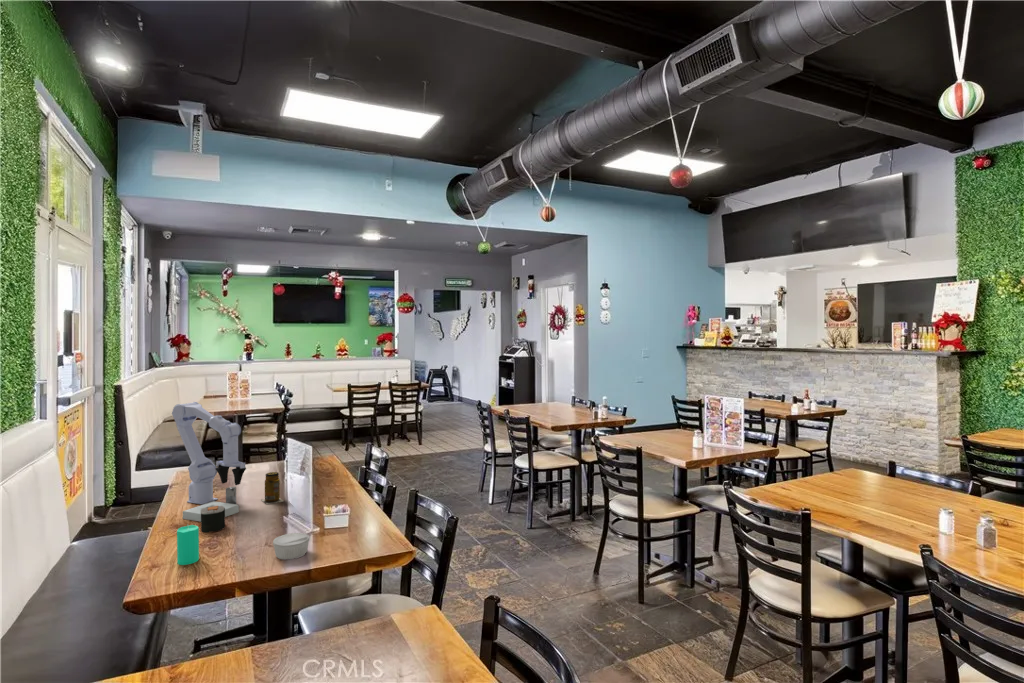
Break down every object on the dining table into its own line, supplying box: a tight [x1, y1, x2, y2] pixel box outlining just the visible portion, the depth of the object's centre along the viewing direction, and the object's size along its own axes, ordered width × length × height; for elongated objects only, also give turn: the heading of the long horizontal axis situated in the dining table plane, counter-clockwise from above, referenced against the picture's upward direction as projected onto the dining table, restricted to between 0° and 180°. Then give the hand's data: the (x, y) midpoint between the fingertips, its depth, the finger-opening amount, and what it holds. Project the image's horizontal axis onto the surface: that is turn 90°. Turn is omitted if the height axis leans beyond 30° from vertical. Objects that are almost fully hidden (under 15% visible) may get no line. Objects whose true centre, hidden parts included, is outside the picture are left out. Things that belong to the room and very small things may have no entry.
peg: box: [225, 486, 237, 505], centre depth 236 cm, size 4×4×7 cm
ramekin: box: [272, 532, 310, 561], centre depth 181 cm, size 11×11×5 cm
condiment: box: [261, 471, 284, 505], centre depth 241 cm, size 7×8×12 cm
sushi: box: [200, 505, 226, 534], centre depth 206 cm, size 8×8×8 cm
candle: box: [176, 524, 200, 566], centre depth 176 cm, size 6×6×12 cm
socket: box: [182, 500, 240, 523], centre depth 221 cm, size 14×14×3 cm
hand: (231, 483), depth 236 cm, fingers open, 7 cm apart
